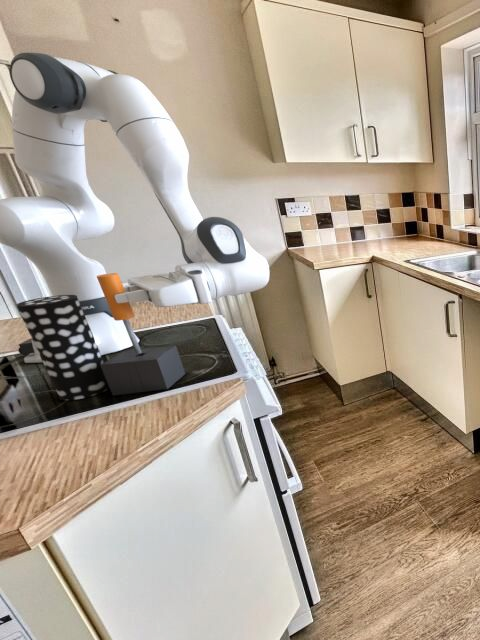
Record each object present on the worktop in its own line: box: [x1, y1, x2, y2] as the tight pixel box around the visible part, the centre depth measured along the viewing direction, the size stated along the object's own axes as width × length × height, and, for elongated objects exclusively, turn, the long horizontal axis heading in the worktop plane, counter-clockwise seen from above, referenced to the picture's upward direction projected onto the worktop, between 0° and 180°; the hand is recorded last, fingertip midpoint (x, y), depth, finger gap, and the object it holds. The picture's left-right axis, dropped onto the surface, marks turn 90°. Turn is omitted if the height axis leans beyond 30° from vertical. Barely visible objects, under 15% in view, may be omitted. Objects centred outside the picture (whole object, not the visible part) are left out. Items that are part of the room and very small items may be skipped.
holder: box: [100, 345, 186, 396], centre depth 91 cm, size 10×8×7 cm
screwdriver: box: [97, 272, 142, 354], centre depth 86 cm, size 3×3×17 cm
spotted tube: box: [15, 295, 110, 401], centre depth 86 cm, size 8×8×20 cm
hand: (111, 297), depth 84 cm, fingers closed on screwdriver, 3 cm apart
